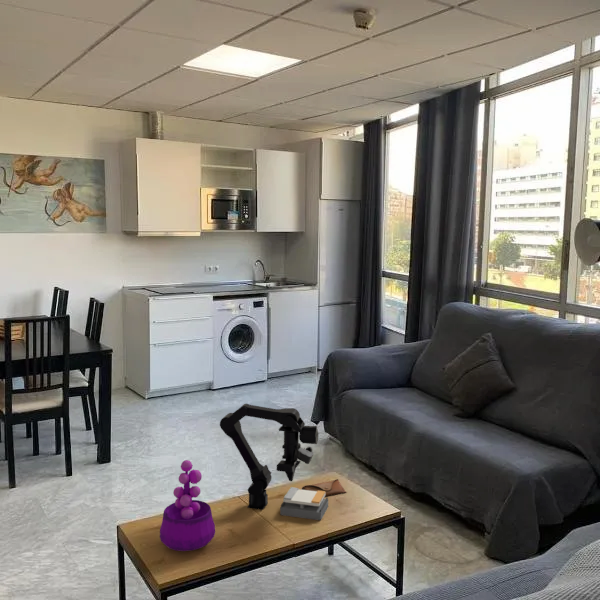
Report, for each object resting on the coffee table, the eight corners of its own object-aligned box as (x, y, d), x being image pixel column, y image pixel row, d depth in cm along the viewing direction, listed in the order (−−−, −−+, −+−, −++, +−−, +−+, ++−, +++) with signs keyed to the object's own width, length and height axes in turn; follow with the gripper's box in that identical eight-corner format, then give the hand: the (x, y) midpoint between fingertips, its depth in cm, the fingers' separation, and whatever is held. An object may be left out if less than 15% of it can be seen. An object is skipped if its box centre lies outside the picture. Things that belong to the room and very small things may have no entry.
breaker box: (280, 514, 231) (280, 503, 231) (289, 501, 243) (289, 490, 242) (321, 520, 227) (321, 508, 226) (328, 506, 238) (328, 495, 238)
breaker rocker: (283, 501, 231) (283, 497, 231) (291, 490, 241) (291, 486, 241) (318, 506, 227) (318, 502, 227) (325, 494, 237) (325, 491, 237)
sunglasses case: (311, 501, 243) (306, 484, 246) (303, 503, 249) (299, 487, 251) (348, 492, 252) (344, 476, 254) (340, 495, 257) (336, 479, 260)
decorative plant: (191, 526, 222) (189, 447, 219) (226, 542, 210) (225, 459, 207) (148, 546, 208) (146, 461, 204) (184, 564, 196) (182, 475, 193)
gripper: (304, 452, 222) (304, 493, 224) (317, 436, 240) (316, 474, 242) (276, 449, 225) (276, 489, 227) (290, 433, 243) (290, 471, 245)
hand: (291, 480), depth 235 cm, fingers closed
